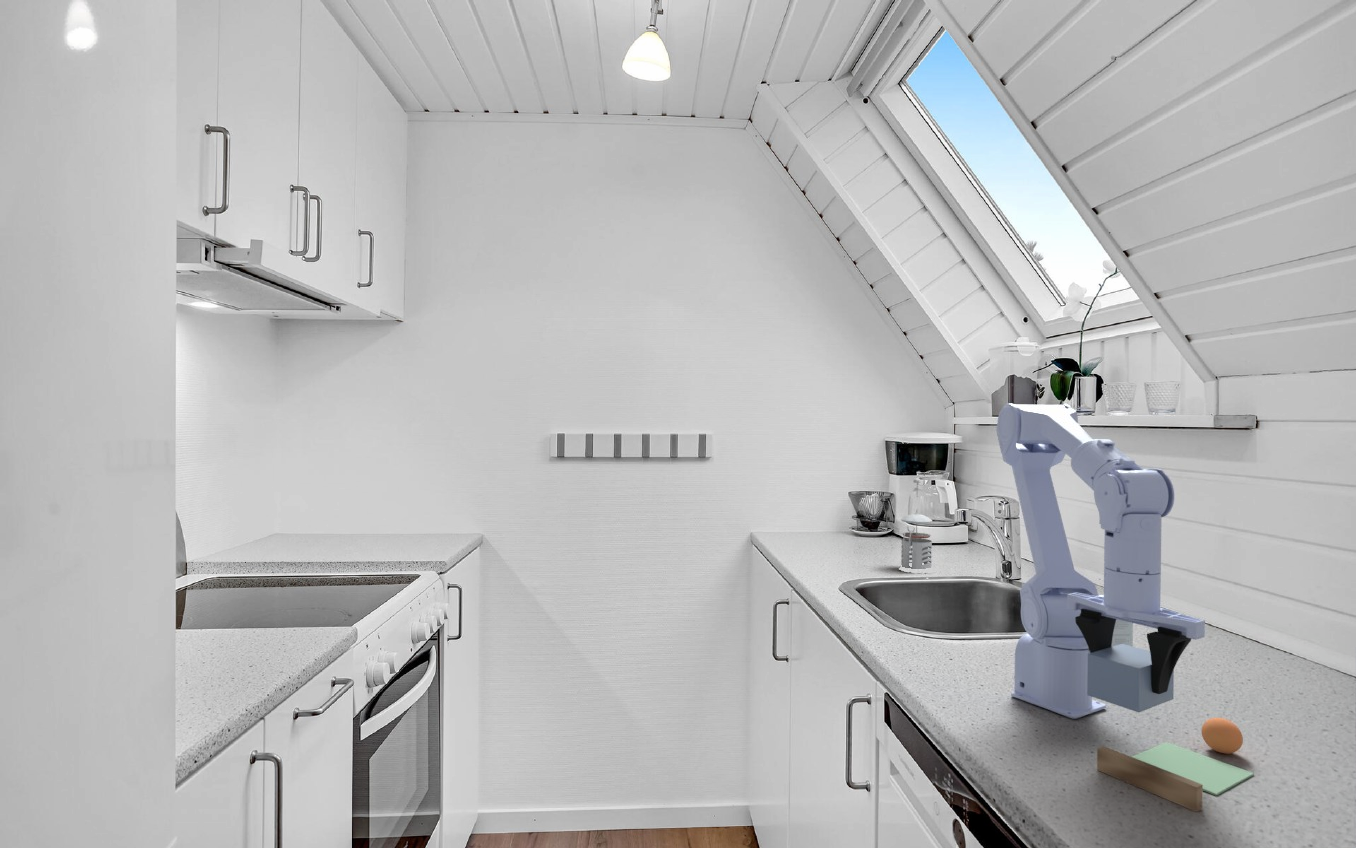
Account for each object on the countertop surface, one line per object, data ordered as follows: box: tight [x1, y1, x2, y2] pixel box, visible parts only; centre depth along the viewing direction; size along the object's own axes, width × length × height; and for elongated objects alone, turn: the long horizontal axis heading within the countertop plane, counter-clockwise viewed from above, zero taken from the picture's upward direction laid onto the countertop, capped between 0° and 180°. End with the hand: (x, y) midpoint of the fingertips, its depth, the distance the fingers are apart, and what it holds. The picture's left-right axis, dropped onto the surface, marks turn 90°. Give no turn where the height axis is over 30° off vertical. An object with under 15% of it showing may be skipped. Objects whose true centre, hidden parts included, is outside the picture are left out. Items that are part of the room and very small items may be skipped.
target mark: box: [1132, 741, 1255, 796], centre depth 81 cm, size 9×9×1 cm
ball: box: [1200, 717, 1244, 754], centre depth 85 cm, size 4×4×4 cm
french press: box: [900, 477, 933, 569], centre depth 190 cm, size 10×12×25 cm
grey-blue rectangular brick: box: [1087, 644, 1175, 713], centre depth 84 cm, size 6×8×5 cm
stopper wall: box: [1096, 745, 1203, 813], centre depth 77 cm, size 10×1×2 cm, turn 30°
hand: (1130, 682), depth 84 cm, fingers closed on grey-blue rectangular brick, 6 cm apart
